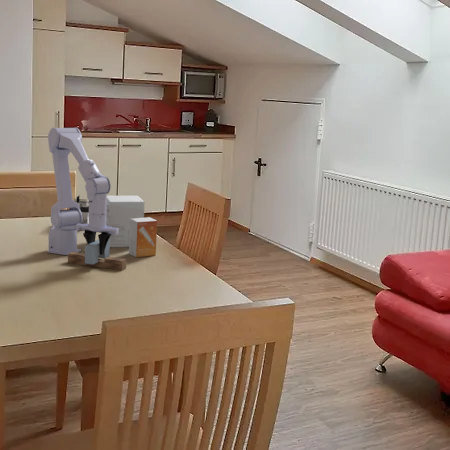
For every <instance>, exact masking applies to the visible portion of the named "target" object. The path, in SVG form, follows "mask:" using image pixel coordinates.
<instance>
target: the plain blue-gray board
mask: <svg viewBox="0 0 450 450" xmlns="http://www.w3.org/2000/svg"><path fill="white" fill-rule="evenodd" d="M99 247H100V245H99V239H97V240H95V242H92V243H90V244H85V246H84V253H85V263H86V264H95V263H97V262H98V259H105V258H107V257H110V250H111V249H110V248H111V247H110V239H109V240H108V242H107V245H106V248H105V252H104V254H102V255H100V252H99Z"/></svg>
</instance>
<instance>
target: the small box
mask: <svg viewBox="0 0 450 450" xmlns="http://www.w3.org/2000/svg"><path fill="white" fill-rule="evenodd" d="M157 234H158V220H157V219H154V218H152V217H150V216H148V217H144V218H134V219H130V232H129V247H128V254H129V255H131V256H133V257H135V258H140V257H142V258H143V257H151V256H156V255H157V236H158V235H157Z"/></svg>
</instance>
